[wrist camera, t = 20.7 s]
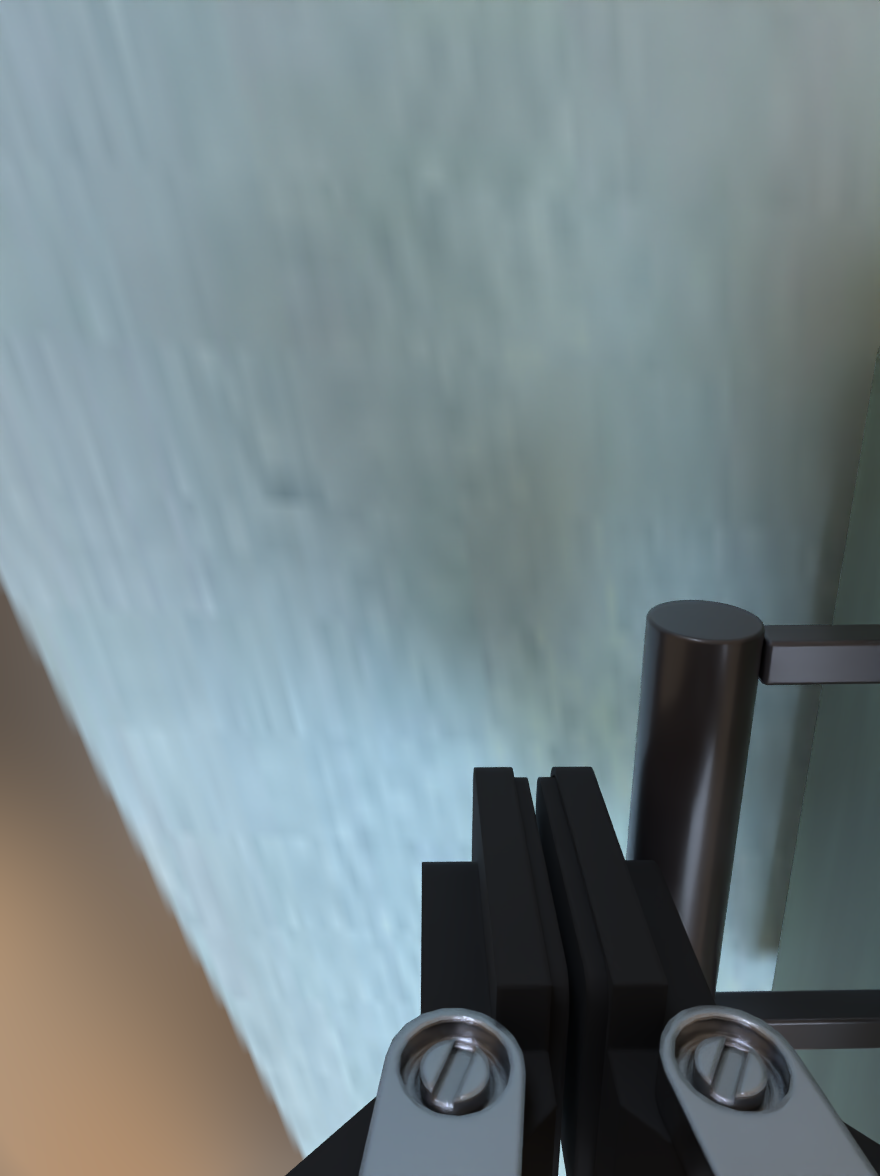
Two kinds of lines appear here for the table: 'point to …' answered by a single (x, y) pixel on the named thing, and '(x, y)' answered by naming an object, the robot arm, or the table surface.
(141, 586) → the table surface
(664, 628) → the drawer
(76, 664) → the table surface
